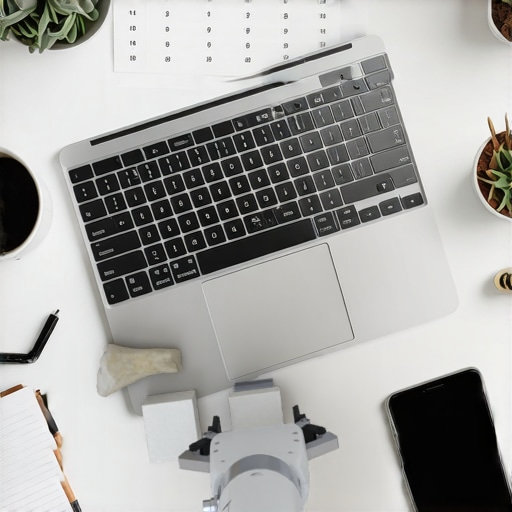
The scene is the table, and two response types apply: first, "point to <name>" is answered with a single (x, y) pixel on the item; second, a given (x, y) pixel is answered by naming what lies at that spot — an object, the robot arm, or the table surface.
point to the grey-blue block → (253, 385)
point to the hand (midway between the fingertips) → (257, 421)
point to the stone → (133, 366)
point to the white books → (170, 424)
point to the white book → (256, 408)
